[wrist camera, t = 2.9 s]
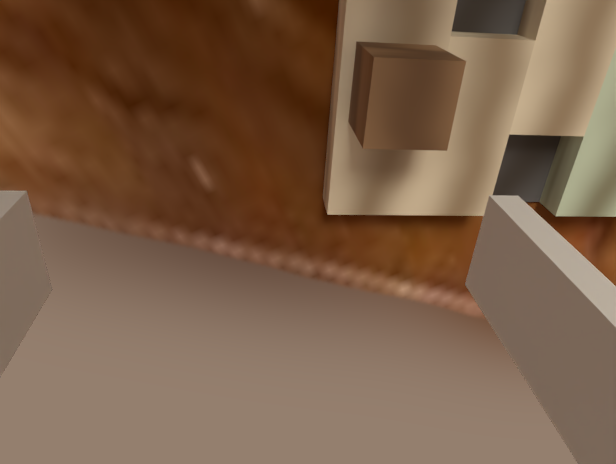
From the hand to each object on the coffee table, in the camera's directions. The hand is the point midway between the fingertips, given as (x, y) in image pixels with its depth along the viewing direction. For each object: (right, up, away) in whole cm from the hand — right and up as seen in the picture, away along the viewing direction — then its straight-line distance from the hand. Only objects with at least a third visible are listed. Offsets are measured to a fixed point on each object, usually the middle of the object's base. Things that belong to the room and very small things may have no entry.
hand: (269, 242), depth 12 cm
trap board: (+13, +10, +19) cm, 25 cm away
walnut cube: (+6, +9, +16) cm, 19 cm away
